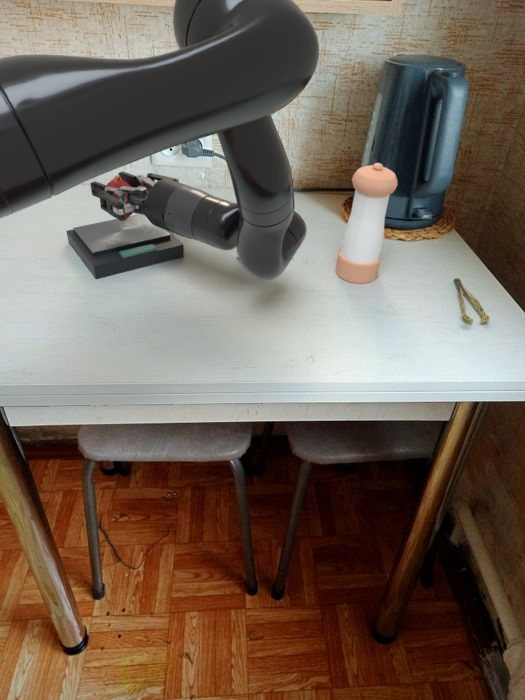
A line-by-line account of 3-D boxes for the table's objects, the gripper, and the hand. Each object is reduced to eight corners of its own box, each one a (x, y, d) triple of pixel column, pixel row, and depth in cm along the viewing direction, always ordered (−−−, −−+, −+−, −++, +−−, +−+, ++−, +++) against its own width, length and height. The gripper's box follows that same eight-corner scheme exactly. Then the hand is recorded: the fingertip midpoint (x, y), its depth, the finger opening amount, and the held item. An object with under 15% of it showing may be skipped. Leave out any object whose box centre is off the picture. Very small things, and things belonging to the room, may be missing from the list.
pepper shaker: (361, 259, 93) (383, 153, 81) (385, 279, 88) (412, 169, 76) (327, 266, 91) (345, 157, 79) (350, 286, 86) (372, 174, 74)
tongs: (460, 281, 89) (464, 272, 88) (488, 328, 80) (493, 318, 78) (437, 281, 89) (441, 271, 88) (462, 328, 80) (467, 318, 78)
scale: (95, 279, 83) (92, 262, 81) (68, 242, 92) (65, 226, 90) (184, 256, 90) (183, 240, 88) (151, 224, 99) (149, 209, 97)
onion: (98, 223, 87) (90, 176, 82) (117, 211, 91) (111, 166, 86) (127, 230, 85) (121, 183, 80) (146, 217, 89) (141, 172, 84)
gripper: (212, 173, 81) (135, 149, 87) (148, 201, 71) (67, 172, 78) (213, 218, 85) (139, 191, 92) (152, 249, 76) (76, 217, 83)
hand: (107, 182), depth 85 cm, fingers closed on onion, 5 cm apart
